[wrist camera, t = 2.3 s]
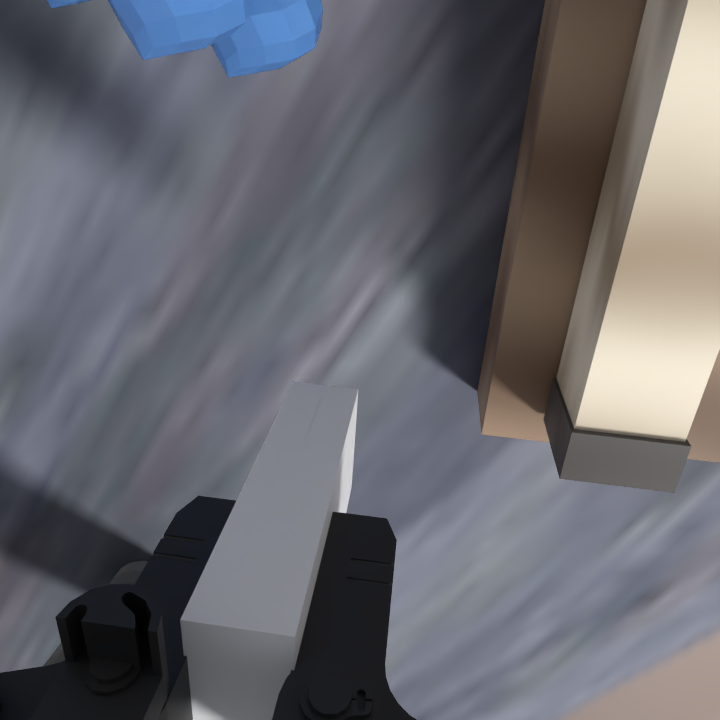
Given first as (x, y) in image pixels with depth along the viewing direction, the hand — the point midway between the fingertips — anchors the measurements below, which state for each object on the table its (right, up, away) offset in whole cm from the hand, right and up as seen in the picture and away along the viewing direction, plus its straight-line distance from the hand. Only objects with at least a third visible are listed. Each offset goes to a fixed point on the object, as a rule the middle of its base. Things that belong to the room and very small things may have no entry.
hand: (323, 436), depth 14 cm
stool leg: (+9, +7, +3) cm, 12 cm away
